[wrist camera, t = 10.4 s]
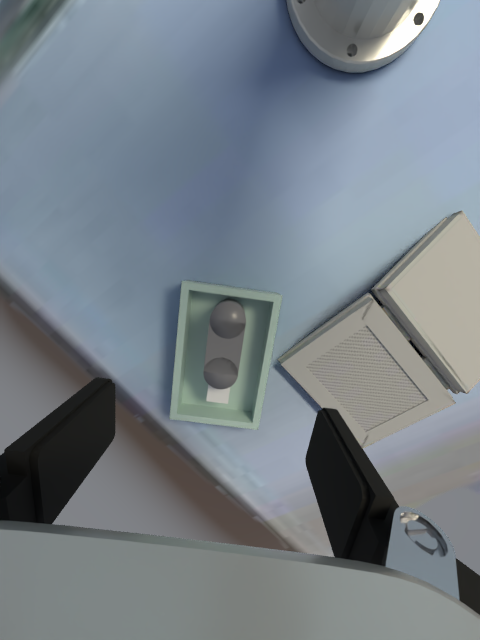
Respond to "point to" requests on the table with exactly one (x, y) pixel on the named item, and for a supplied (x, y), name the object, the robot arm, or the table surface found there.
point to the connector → (224, 349)
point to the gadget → (401, 339)
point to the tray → (192, 351)
